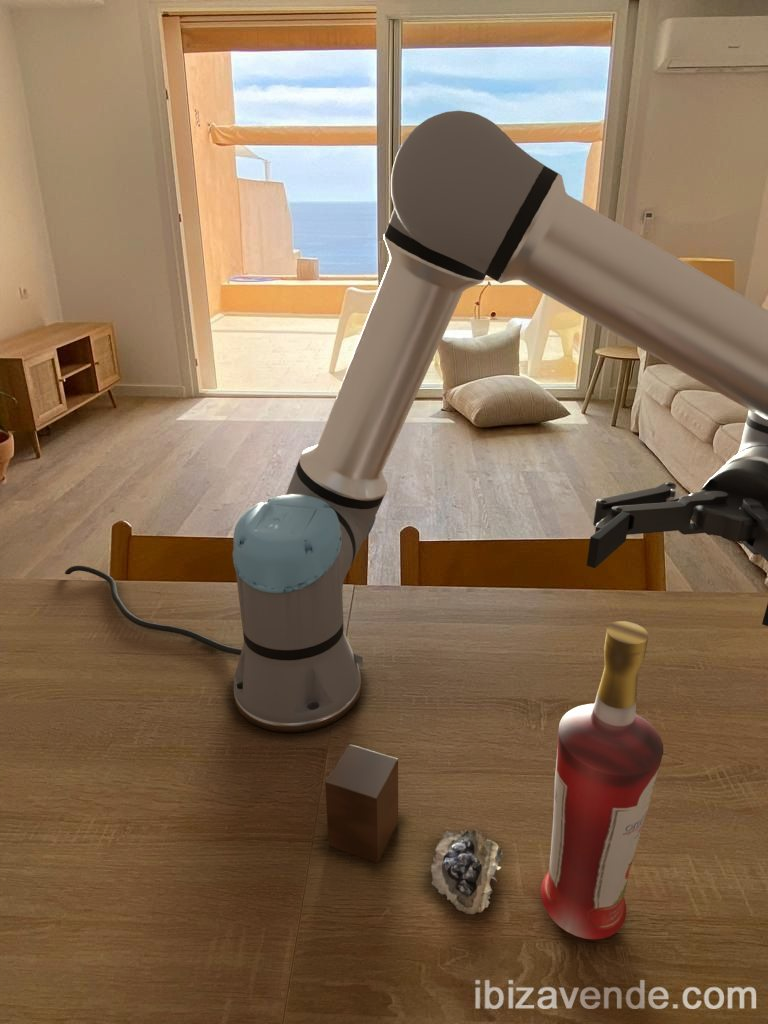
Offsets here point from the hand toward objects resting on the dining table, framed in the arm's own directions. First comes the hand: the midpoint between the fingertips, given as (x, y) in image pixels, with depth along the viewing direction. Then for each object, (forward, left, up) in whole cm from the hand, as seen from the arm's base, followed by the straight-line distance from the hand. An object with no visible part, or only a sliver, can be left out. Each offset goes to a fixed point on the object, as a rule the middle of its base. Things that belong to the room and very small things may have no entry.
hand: (675, 579), depth 54 cm
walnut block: (-23, -9, -28) cm, 37 cm away
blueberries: (-13, -9, -28) cm, 32 cm away
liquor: (-3, -9, -28) cm, 29 cm away
